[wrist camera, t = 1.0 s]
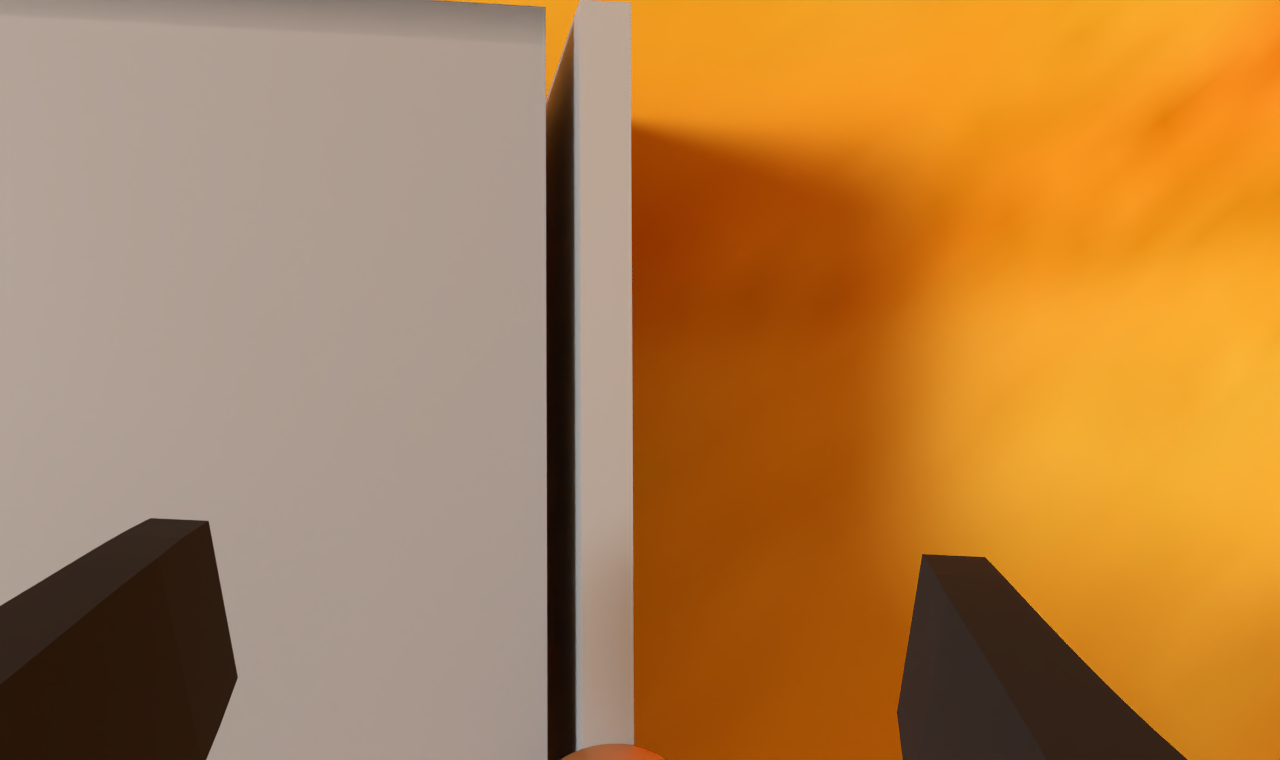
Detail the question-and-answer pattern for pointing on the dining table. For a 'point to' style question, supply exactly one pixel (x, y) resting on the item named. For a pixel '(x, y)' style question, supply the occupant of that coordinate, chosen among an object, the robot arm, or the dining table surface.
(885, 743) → the dining table surface
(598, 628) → the grey drawer
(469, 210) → the carton
